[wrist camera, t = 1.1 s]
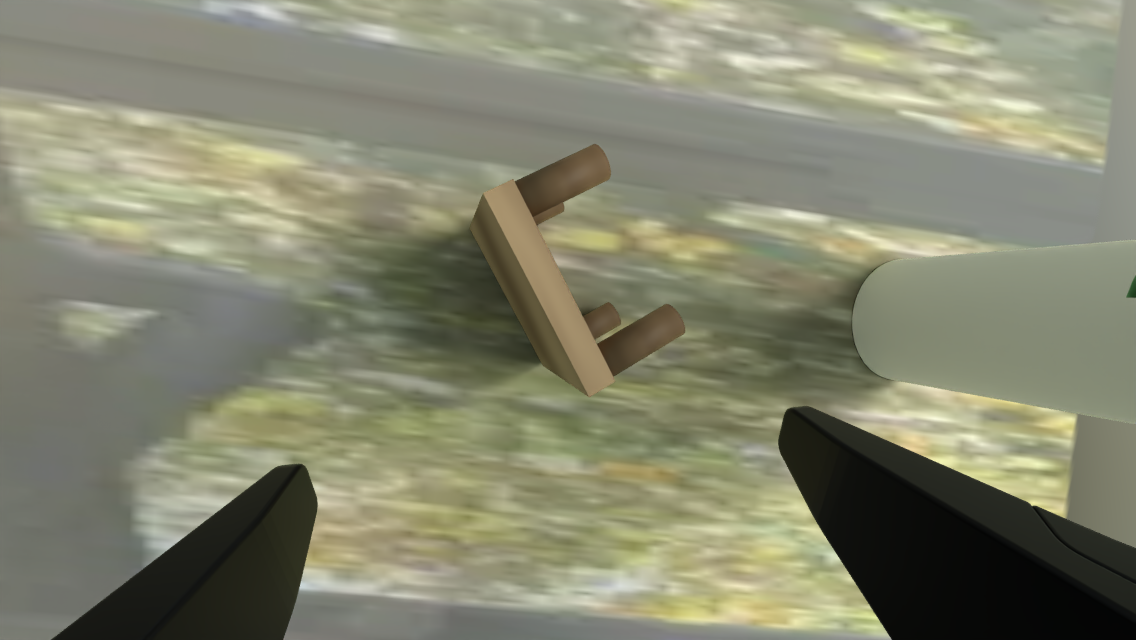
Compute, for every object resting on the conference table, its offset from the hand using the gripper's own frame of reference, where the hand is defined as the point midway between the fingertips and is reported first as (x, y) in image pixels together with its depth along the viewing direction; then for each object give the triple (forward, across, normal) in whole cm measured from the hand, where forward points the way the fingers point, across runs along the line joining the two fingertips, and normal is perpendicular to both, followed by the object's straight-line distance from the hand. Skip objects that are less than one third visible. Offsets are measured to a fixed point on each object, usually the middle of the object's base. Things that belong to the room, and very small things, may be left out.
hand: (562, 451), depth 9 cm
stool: (+10, -3, 0) cm, 11 cm away
